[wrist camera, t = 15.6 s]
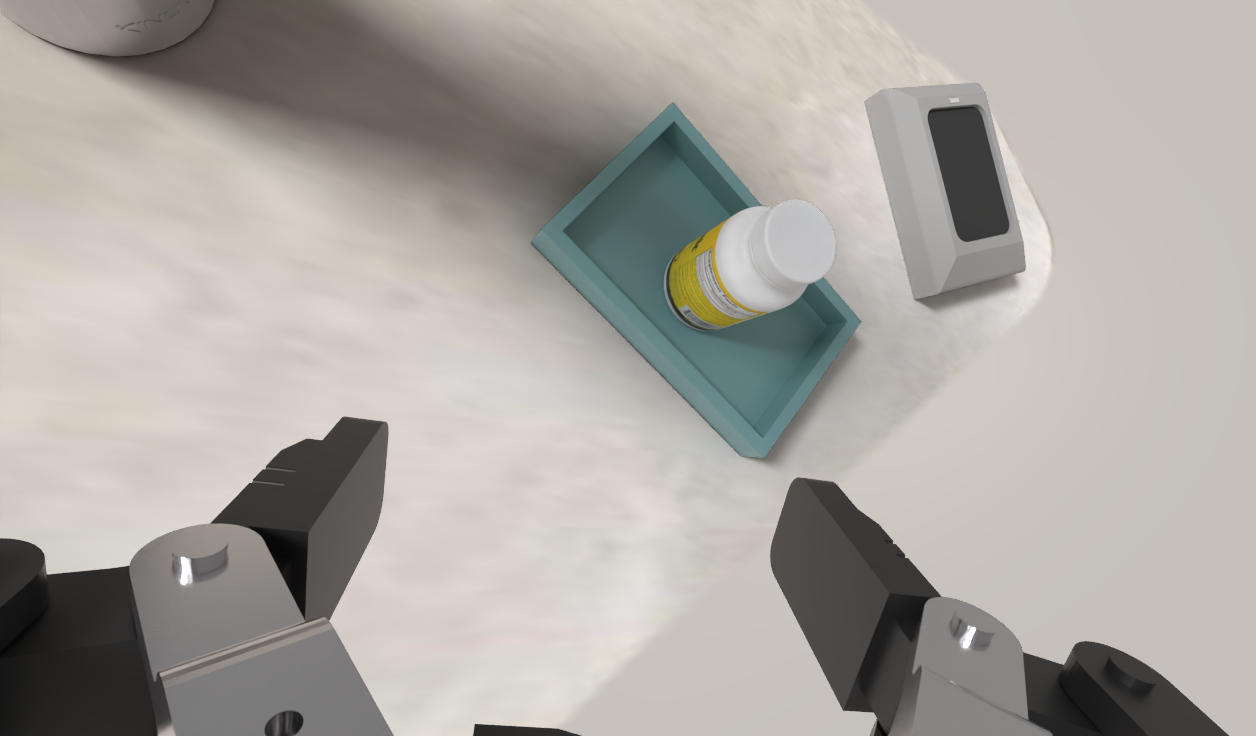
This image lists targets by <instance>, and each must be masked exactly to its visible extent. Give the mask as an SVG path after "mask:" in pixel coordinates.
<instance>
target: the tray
mask: <svg viewBox="0 0 1256 736" xmlns="http://www.w3.org/2000/svg"><path fill="white" fill-rule="evenodd" d="M756 206H762V205H761V204H760V203H759V202H758V201H757V199H756V198H755V197H754V196H753V195H752V194H751V192H750V191H749V190H748V189H747V188H746V187H745V185H744V184H743V183H742V182H741V181H740V180H739V178H738V177H737V176H736V175H735V174H734V173H733V171H732V170H731V169H730V168H729V167H728V166H727V165H726V163H725V162H724V161H723V160H722V159H721V158H720V156H719V155H718V154H717V153H716V152H715V151H714V149H713V148H712V147H711V146H710V145H709V144H708V142H707V141H706V140H705V139H704V138H703V137H702V135H701V134H700V133H699V132H698V131H697V130H696V128H695V127H694V126H693V125H692V124H691V123H690V121H689V120H688V119H687V118H686V117H685V116H684V114H683V113H682V112H681V111H680V110H679V109H678V107H677V106H676V105H675V104H674V103H672V104H671V105H670V106H668V107H667V108H666V109H665V110H664V111H663V112H662V113H661V114H660V115H659V116H658V117H657V118H656V119H655V120H654V121H653V122H652V123H651V124H650V125H649V126H648V127H647V128H646V129H645V130H644V131H643V132H642V133H641V134H640V135H638V136H637V137H636V138H635V139H634V140H633V141H632V142H631V143H630V144H629V145H628V146H627V147H626V148H625V149H624V150H623V151H622V152H621V153H620V154H619V155H618V156H617V157H616V158H615V159H614V160H613V161H612V162H611V163H610V164H608V165H607V166H606V167H605V168H604V169H603V170H602V171H601V172H600V173H599V174H598V175H597V176H596V177H595V178H594V179H593V180H592V181H591V182H590V183H589V184H588V185H587V186H586V187H585V188H584V189H583V190H582V191H581V192H579V193H578V194H577V195H576V196H575V197H574V198H573V199H572V200H571V201H570V202H569V203H568V204H567V205H566V206H565V207H564V208H563V209H562V210H561V211H560V212H559V213H558V214H557V215H556V216H555V217H554V218H553V219H552V220H551V221H549V222H548V223H547V224H546V225H545V226H544V227H543V228H542V229H541V230H540V232H539V233H538V234H537V235H536V237H535V238H534V239H533V241H532V242H531V244H532V245H533V246H534V247H535V248H536V249H537V250H538V251H539V252H540V253H541V254H542V255H543V256H544V257H545V258H546V259H547V260H548V261H549V262H550V263H551V264H552V265H553V266H554V267H555V268H556V269H557V270H558V271H559V272H560V273H561V274H562V275H563V276H564V277H565V278H566V279H567V280H568V282H569V283H570V284H571V285H572V286H573V287H574V288H575V289H576V290H577V291H578V292H579V293H580V294H581V295H582V296H583V297H584V298H585V299H586V300H587V301H588V302H589V303H590V304H591V305H592V306H593V307H594V308H595V309H596V310H597V311H598V312H599V313H600V314H601V315H602V316H603V317H604V318H605V319H606V320H607V321H608V322H609V323H610V324H611V325H612V326H613V327H614V328H615V329H616V330H617V331H618V332H619V333H620V334H621V335H622V336H623V337H624V338H625V339H626V340H627V341H628V342H629V343H630V344H631V345H632V346H633V347H634V348H635V349H636V350H637V351H638V352H639V354H640V355H641V356H642V357H643V358H644V359H645V360H646V361H647V362H648V363H649V364H650V365H651V366H652V367H653V368H654V369H655V370H656V371H657V372H658V373H659V374H660V375H661V376H662V377H663V378H664V379H665V380H666V381H667V382H668V383H669V384H670V385H671V386H672V387H673V388H674V389H675V390H676V391H677V392H678V393H679V394H680V395H681V396H682V397H683V398H684V399H685V400H686V401H687V402H688V403H689V404H690V405H691V406H692V407H693V408H694V409H695V410H696V411H697V412H698V413H699V414H700V415H701V416H702V417H703V418H704V419H705V420H706V421H707V422H708V423H709V424H710V426H711V427H712V428H713V429H714V430H715V431H716V432H717V433H718V434H719V435H720V436H721V437H722V438H723V439H724V440H725V441H726V442H727V443H728V444H729V445H730V446H731V447H732V448H733V449H734V450H735V451H736V452H737V453H738V454H739V455H740V456H745V457H758V458H765V456H766V455H767V453H768V452H769V451H770V449H771V448H772V446H773V445H774V444H775V442H776V441H777V439H778V438H779V437H780V435H781V434H782V432H783V431H784V430H785V428H786V427H787V425H788V424H789V422H790V421H791V420H792V418H793V417H794V415H795V414H796V413H797V411H798V410H799V408H800V407H801V406H802V404H803V403H804V401H805V400H806V399H807V397H808V396H809V394H810V393H811V392H812V390H813V389H814V387H815V386H816V385H817V383H818V382H819V380H820V379H821V377H822V376H823V375H824V373H825V372H826V370H827V369H828V368H829V366H830V365H831V363H832V362H833V361H834V359H835V358H836V356H837V355H838V354H839V352H840V351H841V349H842V348H843V347H844V345H845V344H846V342H847V341H848V340H849V338H850V337H851V335H852V334H853V333H854V331H855V330H856V328H857V327H858V325H859V324H860V323H861V320H860V319H859V318H858V317H857V316H856V315H855V313H854V312H853V311H852V310H851V309H850V308H849V307H848V305H847V304H846V303H845V302H844V301H843V300H842V298H841V297H840V296H839V295H838V294H837V293H836V291H835V290H834V289H833V288H832V287H831V286H830V284H829V283H828V282H827V281H826V280H825V279H824V277H823V278H821V279H820V280H818V281H816V282H814V283H811V284H808V285H807V287H806V289H805V291H804V292H803V294H802V295H801V296H800V297H799V298H798V299H797V300H796V301H795V302H794V303H792V304H790V305H789V306H787V307H785V308H782V309H779V310H777V311H773V312H770V313H767V314H764V315H761V316H758V317H755V318H752V319H749V320H746V321H743V322H740V323H737V324H734V325H731V326H728V327H725V328H722V329H719V330H715V331H699V330H695V329H692V328H690V327H688V326H686V325H685V324H683V323H682V322H681V321H680V320H679V319H678V318H677V317H676V316H675V315H674V314H673V312H672V311H671V309H670V307H669V305H668V303H667V301H666V297H665V294H664V274H665V270H666V268H667V265H668V263H669V262H670V260H671V259H672V257H673V256H674V255H675V254H676V253H677V252H678V251H680V250H681V249H682V248H684V247H685V246H687V245H688V244H690V243H691V242H693V241H695V240H696V239H698V238H699V237H701V236H702V235H704V234H705V233H706V232H708V231H710V230H711V229H713V228H715V227H716V226H718V225H719V224H721V223H722V222H724V221H725V220H727V219H728V218H730V217H731V216H733V215H735V214H736V213H738V212H740V211H742V210H744V209H747V208H750V207H756Z"/></svg>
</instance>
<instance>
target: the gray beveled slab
mask: <svg viewBox="0 0 1256 736" xmlns="http://www.w3.org/2000/svg"><path fill="white" fill-rule="evenodd" d="M864 103H865V107H866V111H867V115H868V119H869V123H870V127H871V131H872V135H873V139H874V143H875V147H876V151H877V155H878V159H879V163H880V167H881V171H882V174H883V178H884V182H885V186H886V190H887V194H888V198H889V202H890V206H891V210H892V214H893V218H894V222H895V226H896V230H897V234H898V238H899V242H900V246H901V250H902V253H903V257H904V261H905V265H906V269H907V273H908V277H909V281H910V285H911V289H912V293H913V297H914V300H916V299H920V298H924V297H928V296H932V295H936V294H940V293H944V292H948V291H951V290H955V289H959V288H963V287H967V286H970V285H974V284H978V283H982V282H986V281H990V280H993V279H997V278H1001V277H1005V276H1009V275H1012V274H1016V273H1020V272H1024V271H1025V269H1026V265H1025V255H1024V245H1023V239H1022V235H1021V231H1020V227H1019V223H1018V219H1017V215H1016V211H1015V207H1014V203H1013V199H1012V195H1011V191H1010V187H1009V183H1008V179H1007V175H1006V171H1005V167H1004V164H1003V160H1002V156H1001V152H1000V148H999V144H998V140H997V136H996V132H995V128H994V124H993V120H992V116H991V112H990V108H989V104H988V100H987V96H986V92H985V91H984V89H983V88H982V86H981V85H980V84H978V83H966V84H951V85H936V86H921V87H907V88H892V89H883V90H880V91H879V92H878V93H876V94H875V95H873V96H872V97H870V98H869V99H867V100H866V101H864Z"/></svg>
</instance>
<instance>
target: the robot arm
mask: <svg viewBox="0 0 1256 736" xmlns="http://www.w3.org/2000/svg"><path fill="white" fill-rule="evenodd" d="M214 1H215V0H0V11H1V12H2V13H3V14H4V15H5V16H6V17H7V18H8V19H10V20H11V21H13V22H14V23H16V24H18V25H19V26H21V27H22V28H24V29H25V30H27V31H28V32H30V33H32V34H33V35H36V36H38V37H40V38H42V39H45V40H47V41H49V42H52V43H54V44H56V45H58V46H61V47H65V48H69V49H73V50H76V51H80V52H84V53H88V54H97V55H106V56H130V55H142V54H146V53H150V52H155V51H159V50H163V49H165V48H168V47H170V46H172V45H174V44H176V43H178V42H180V41H182V40H184V39H185V38H187V37H188V36H189V35H190V34H191V33H193V32H194V31H195V30H196V29H198V28H199V27H200V26H201V24H202V23H203V21H204V20H205V19H206V17H207V16H208V15H209V13H210V12H211V9H212V7H213V4H214ZM387 445H388V424H387V423H386V422H382V421H374V420H367V419H359V418H352V417H342V418H341V419H340V421H339V422H338V423H337V424H336V425H335V426H334V428H333V429H332V430H331V431H330V432H329V433H328V435H327V436H326V437H325V438H324V439H323V440H314V439H305V440H303V441H301V442H298V443H296V444H294V445H292V446H290V447H288V448H286V449H283V450H281V451H280V452H279V453H278V454H277V455H276V456H275V457H274V458H273V460H272V461H271V462H270V463H269V464H268V465H267V466H266V469H265V470H264V469H263V470H262V471H261V472H260V473H259V474H258V475H257V476H256V477H255V478H254V479H253V482H252V483H249V484H248V485H247V486H246V487H245V488H244V489H243V490H242V491H241V492H240V493H239V495H238V496H237V497H236V498H235V499H234V500H233V501H232V502H231V503H230V504H229V505H228V506H227V507H226V508H225V509H224V510H223V511H222V512H221V513H220V514H219V515H218V516H217V517H216V518H215V519H214V520H213V521H212V522H211V523H210V524H204V525H197V526H191V527H187V528H183V529H179V530H176V531H173V532H170V533H167V534H165V535H163V536H161V537H158V538H157V539H155V540H153V541H151V542H149V543H148V544H147V545H145V546H144V547H143V548H141V549H140V550H139V551H138V552H137V553H136V554H135V556H134V557H133V559H132V560H131V563H130V566H126V567H118V568H111V569H101V570H91V571H80V572H70V573H60V574H50V575H47V574H46V565H45V557H44V553H43V552H42V550H41V549H40V548H38V547H37V546H36V545H34V544H31V543H29V542H25V541H21V540H15V539H0V736H394V735H393V734H392V732H391V730H390V728H389V726H388V725H387V723H386V721H385V719H384V717H383V716H382V714H381V712H380V710H379V708H378V707H377V705H376V703H375V701H374V699H373V698H372V696H371V694H370V692H369V690H368V689H367V687H366V685H365V683H364V681H363V680H362V678H361V676H360V674H359V672H358V671H357V669H356V667H355V665H354V663H353V662H352V660H351V658H350V656H349V654H348V653H347V651H346V649H345V647H344V645H343V644H342V642H341V640H340V638H339V636H338V635H337V633H336V631H335V629H334V628H333V626H332V624H331V623H330V622H329V620H330V618H331V616H332V614H333V612H334V610H335V608H336V606H337V604H338V602H339V600H340V598H341V596H342V594H343V592H344V590H345V588H346V586H347V584H348V583H349V581H350V579H351V577H352V575H353V573H354V571H355V569H356V567H357V565H358V563H359V561H360V559H361V557H362V555H363V553H364V551H365V549H366V547H367V545H368V543H369V541H370V539H371V537H372V535H373V533H374V531H375V529H376V526H377V523H378V520H379V517H380V513H381V508H382V502H383V493H384V481H385V469H386V457H387ZM770 558H771V567H772V571H773V574H774V576H775V578H776V580H777V582H778V584H779V586H780V588H781V589H782V592H783V594H784V595H785V597H786V599H787V601H788V603H789V605H790V607H791V609H792V611H793V613H794V615H795V617H796V619H797V621H798V623H799V625H800V627H801V628H802V630H803V633H804V635H805V637H806V638H807V641H808V643H809V644H810V646H811V648H812V650H813V652H814V654H815V656H816V658H817V660H818V662H819V664H820V666H821V668H822V670H823V672H824V674H825V676H826V678H827V680H828V682H829V684H830V685H831V688H832V689H833V691H834V693H835V695H836V697H837V699H838V701H839V703H840V705H841V707H842V709H843V710H844V711H861V712H874V713H875V715H876V717H877V719H876V722H875V724H874V727H873V729H872V731H871V734H870V736H1229V735H1228V734H1226V733H1225V732H1224V731H1223V730H1222V729H1221V728H1220V727H1219V726H1217V724H1215V723H1214V722H1213V721H1212V720H1211V719H1210V718H1209V717H1208V716H1207V715H1206V714H1204V713H1203V712H1202V711H1201V710H1200V709H1199V708H1198V707H1197V706H1195V705H1194V704H1193V703H1192V702H1191V701H1190V700H1189V699H1188V698H1187V697H1186V696H1184V695H1183V694H1182V693H1181V692H1180V691H1179V690H1178V689H1177V688H1175V687H1174V686H1173V685H1172V684H1171V683H1170V682H1169V681H1168V680H1166V679H1165V678H1164V677H1163V676H1162V675H1160V674H1159V673H1158V672H1156V671H1155V670H1154V669H1152V668H1151V667H1149V666H1148V665H1146V664H1144V663H1143V662H1141V661H1139V660H1137V659H1136V658H1134V657H1132V656H1130V655H1128V654H1126V653H1124V652H1122V651H1120V650H1117V649H1115V648H1112V647H1110V646H1107V645H1104V644H1100V643H1095V642H1087V641H1084V642H1079V643H1077V644H1076V645H1075V646H1074V647H1073V649H1072V651H1071V653H1070V655H1069V657H1068V659H1067V661H1066V663H1065V664H1064V665H1062V664H1058V663H1055V662H1052V661H1049V660H1046V659H1043V658H1039V657H1036V656H1033V655H1030V654H1027V653H1024V652H1023V651H1022V647H1021V645H1020V643H1019V641H1018V639H1017V638H1016V637H1015V635H1014V634H1013V633H1012V632H1011V631H1010V630H1009V629H1008V628H1007V627H1006V626H1005V625H1004V624H1002V623H1001V622H1000V621H998V620H997V619H996V618H994V617H993V616H991V615H990V614H988V613H986V612H985V611H983V610H981V609H979V608H977V607H975V606H973V605H971V604H968V603H966V602H963V601H960V600H957V599H952V598H946V597H941V596H940V594H939V593H938V592H937V591H936V590H935V589H934V587H933V586H932V585H931V584H930V583H929V582H928V581H927V580H926V578H925V577H924V576H923V575H922V574H921V573H920V571H919V570H918V569H917V568H916V567H915V566H914V565H913V563H912V562H911V561H910V560H909V559H908V558H905V554H904V553H903V552H902V551H901V550H900V548H899V547H898V546H897V545H896V544H893V540H892V539H891V538H890V537H889V536H888V535H887V533H886V532H885V531H884V530H883V529H882V528H881V527H880V525H879V524H877V523H876V522H875V521H873V520H872V519H870V518H869V517H868V516H866V515H865V514H864V513H862V512H861V511H859V510H858V509H857V508H856V507H855V506H854V504H852V502H851V501H850V500H849V499H848V497H847V496H846V495H845V494H844V493H843V491H842V490H841V489H840V488H839V487H838V486H837V485H836V484H835V483H834V482H829V481H822V480H814V479H807V478H796V479H795V480H794V481H793V482H792V483H791V485H790V487H789V490H788V493H787V496H786V499H785V503H784V506H783V509H782V512H781V515H780V518H779V522H778V525H777V528H776V531H775V534H774V538H773V541H772V545H771V555H770ZM473 736H580V735H577V734H573V733H570V732H567V731H563V730H560V729H553V728H535V727H518V726H500V725H482V724H475V727H474V734H473Z"/></svg>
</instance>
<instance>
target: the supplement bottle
mask: <svg viewBox="0 0 1256 736" xmlns="http://www.w3.org/2000/svg"><path fill="white" fill-rule="evenodd" d="M835 256H836V239H835V234H834V231H833V228H832V226H831V224H830V222H829V220H828V219H827V217H826V216H825V215H824V213H823V212H822V211H821V210H820V209H818V208H817V207H816V206H814V205H813V204H811V203H809V202H807V201H803V200H798V199H792V200H787V201H784V202H782V203H780V204H778V205H776V206H774V207H773V208H771V207H766V206H756V207H750V208H747V209H744V210H742V211H740V212H738V213H736V214H735V215H733V216H731V217H730V218H728V219H727V220H725V221H724V222H722V223H721V224H719V225H718V226H716V227H715V228H713V229H711V230H710V231H708V232H706V233H705V234H704V235H702V236H701V237H699V238H698V239H696V240H695V241H693V242H691V243H690V244H688V245H687V246H685V247H684V248H682V249H681V250H680V251H678V252H677V253H676V254H675V255H674V256H673V257H672V259H671V260H670V262H669V263H668V265H667V268H666V270H665V274H664V294H665V297H666V301H667V303H668V305H669V307H670V309H671V311H672V312H673V314H674V315H675V316H676V317H677V318H678V319H679V320H680V321H681V322H682V323H683V324H685V325H686V326H688V327H690V328H692V329H695V330H699V331H715V330H719V329H722V328H725V327H728V326H731V325H734V324H737V323H740V322H743V321H746V320H749V319H752V318H755V317H758V316H761V315H764V314H767V313H770V312H773V311H777V310H779V309H782V308H785V307H787V306H789V305H790V304H792V303H794V302H795V301H796V300H797V299H798V298H799V297H800V296H801V295H802V294H803V292H804V291H805V289H806V287H807V285H808V284H811V283H814V282H816V281H818V280H820V279H821V278H823V277H824V276H825V275H826V274H827V273H828V272H829V270H830V269H831V267H832V265H833V263H834V260H835Z"/></svg>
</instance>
